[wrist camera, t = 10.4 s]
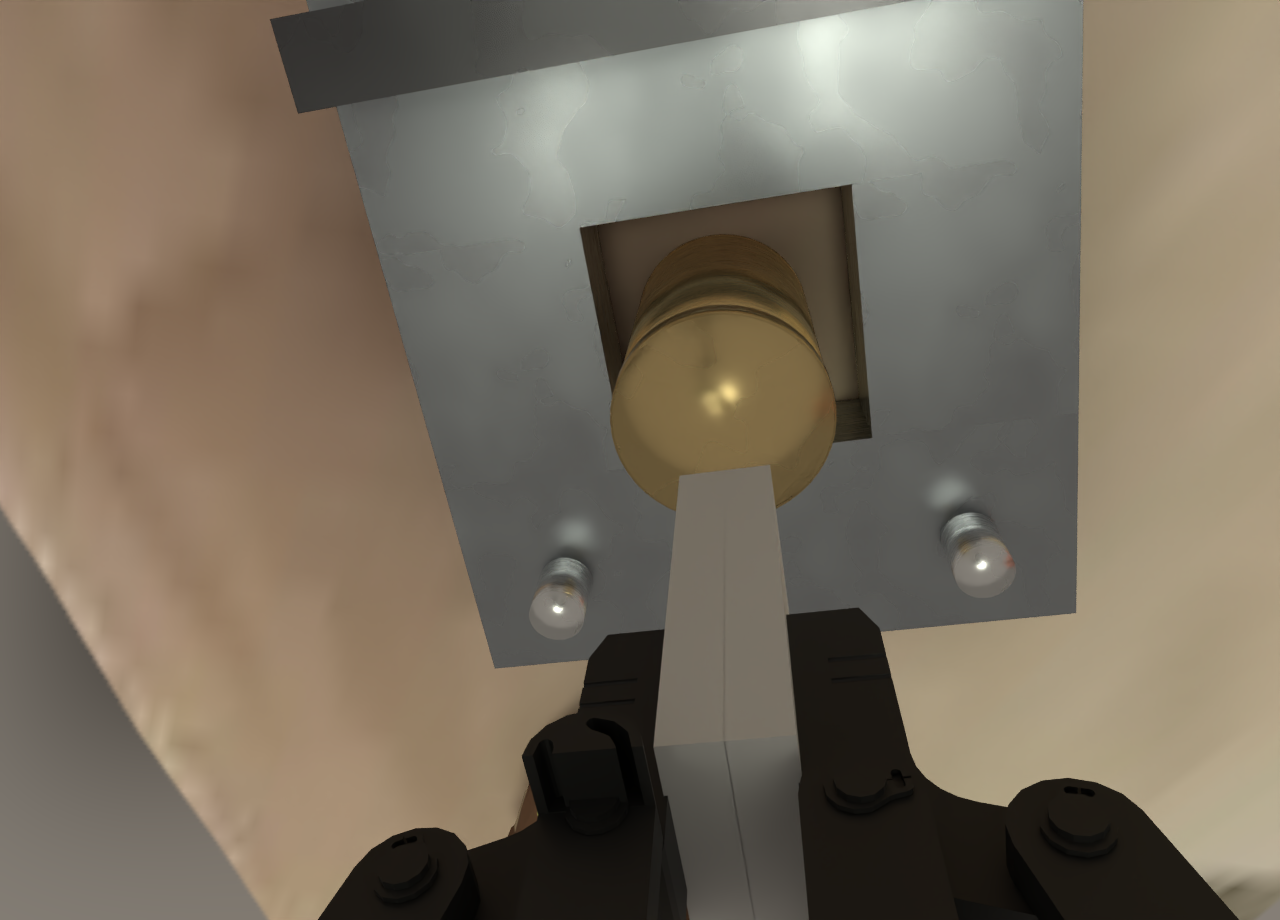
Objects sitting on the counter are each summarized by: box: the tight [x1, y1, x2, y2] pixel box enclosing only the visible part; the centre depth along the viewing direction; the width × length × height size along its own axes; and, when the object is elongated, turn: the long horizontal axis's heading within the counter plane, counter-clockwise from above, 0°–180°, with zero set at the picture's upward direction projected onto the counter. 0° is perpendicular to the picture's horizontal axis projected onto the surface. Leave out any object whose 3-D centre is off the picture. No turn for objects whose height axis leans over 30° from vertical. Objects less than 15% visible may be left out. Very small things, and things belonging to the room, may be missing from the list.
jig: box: [270, 0, 1083, 668], centre depth 27 cm, size 20×18×5 cm
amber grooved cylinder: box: [610, 234, 837, 511], centre depth 26 cm, size 5×5×8 cm
